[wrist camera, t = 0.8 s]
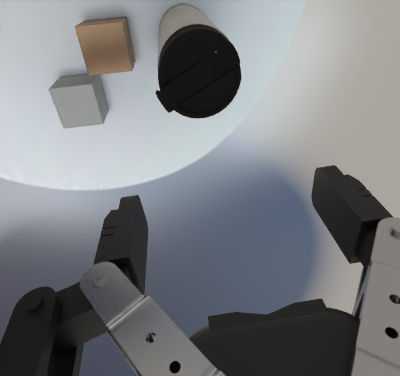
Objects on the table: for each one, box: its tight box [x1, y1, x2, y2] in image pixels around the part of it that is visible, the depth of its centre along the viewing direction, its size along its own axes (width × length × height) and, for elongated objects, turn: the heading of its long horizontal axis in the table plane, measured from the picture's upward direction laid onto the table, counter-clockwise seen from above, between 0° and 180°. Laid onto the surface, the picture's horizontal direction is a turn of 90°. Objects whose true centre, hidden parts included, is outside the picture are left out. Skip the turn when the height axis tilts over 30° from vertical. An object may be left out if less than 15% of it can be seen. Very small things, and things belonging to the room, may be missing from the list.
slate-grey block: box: [49, 74, 109, 128], centre depth 38 cm, size 5×5×5 cm
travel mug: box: [156, 4, 241, 118], centre depth 29 cm, size 6×7×20 cm
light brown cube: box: [75, 17, 135, 75], centre depth 34 cm, size 5×5×5 cm
